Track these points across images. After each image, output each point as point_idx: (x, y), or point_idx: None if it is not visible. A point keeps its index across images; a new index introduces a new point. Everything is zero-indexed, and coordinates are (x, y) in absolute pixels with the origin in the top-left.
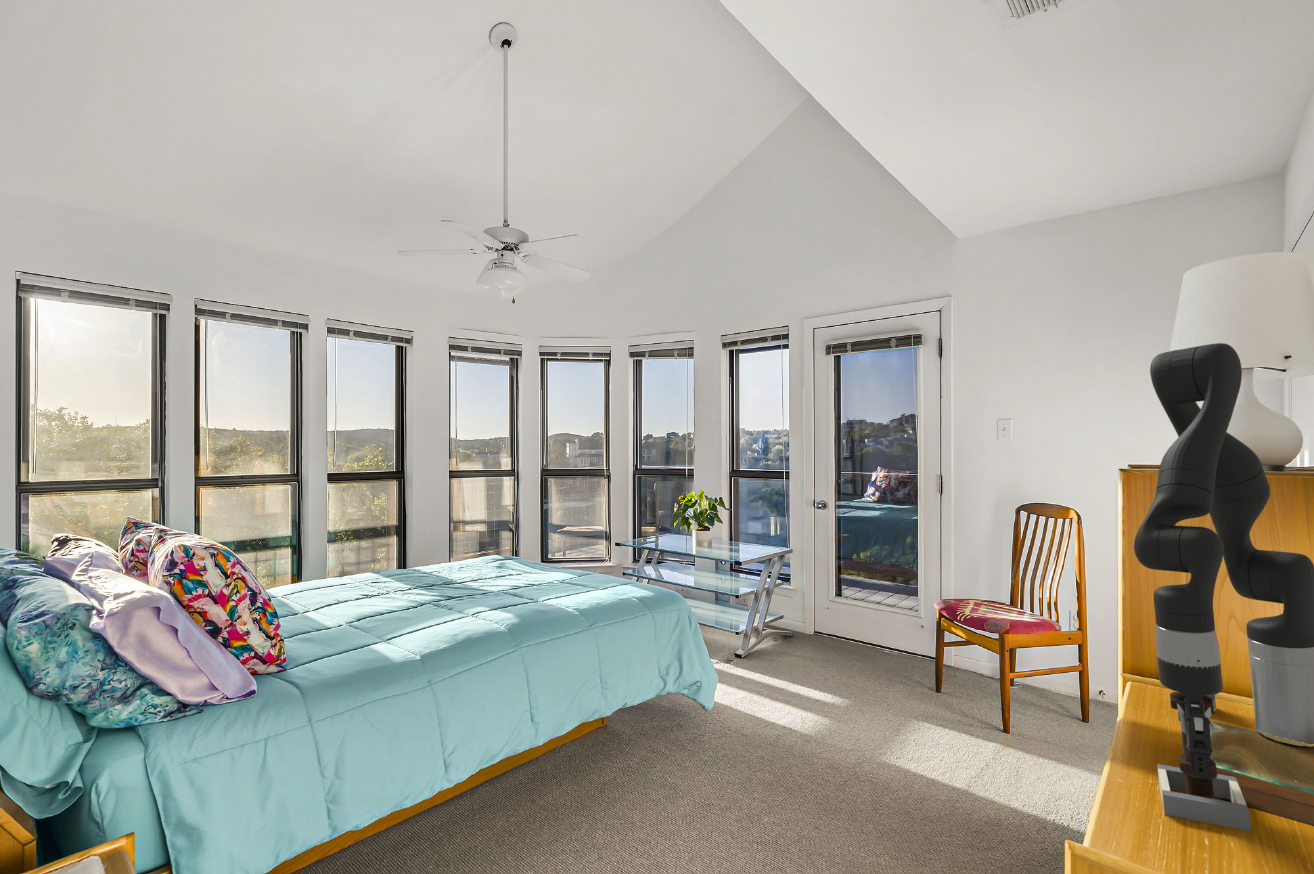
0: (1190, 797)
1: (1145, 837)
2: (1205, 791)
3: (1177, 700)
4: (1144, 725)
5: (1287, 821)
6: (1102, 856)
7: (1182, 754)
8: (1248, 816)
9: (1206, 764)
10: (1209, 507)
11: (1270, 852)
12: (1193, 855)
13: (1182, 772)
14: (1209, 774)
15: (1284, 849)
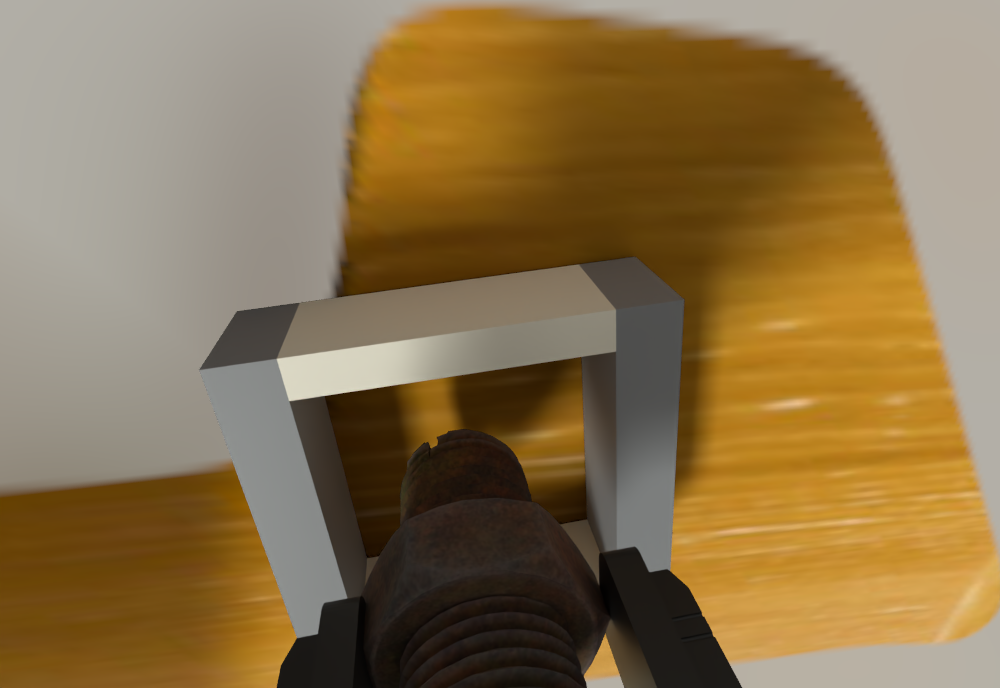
0: (647, 528)
1: (831, 554)
2: (524, 481)
3: None
4: None
5: (408, 76)
6: (976, 614)
7: None
8: (664, 288)
9: (719, 647)
10: None
11: (803, 185)
12: (910, 430)
13: (344, 587)
14: (641, 562)
15: (752, 123)
